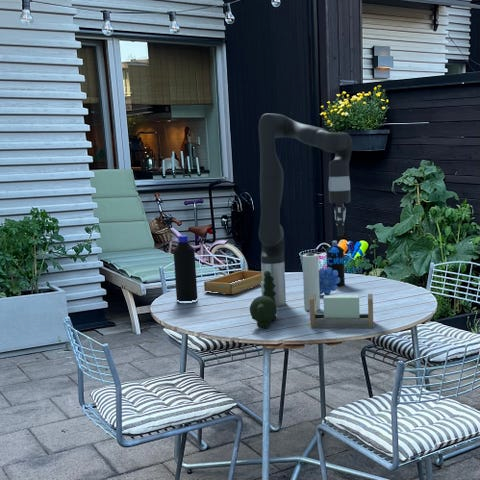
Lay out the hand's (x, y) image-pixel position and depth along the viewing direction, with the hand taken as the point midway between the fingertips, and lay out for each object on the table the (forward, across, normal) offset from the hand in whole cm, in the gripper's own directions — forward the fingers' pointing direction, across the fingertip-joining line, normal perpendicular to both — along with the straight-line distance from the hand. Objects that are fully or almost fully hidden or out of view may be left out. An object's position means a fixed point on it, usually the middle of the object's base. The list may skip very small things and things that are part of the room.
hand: (340, 234), depth 223 cm
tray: (+31, +50, +50) cm, 77 cm away
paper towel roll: (+30, +10, +12) cm, 34 cm away
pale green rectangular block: (+29, -12, 0) cm, 31 cm away
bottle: (+30, +23, +66) cm, 76 cm away
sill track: (+30, -12, 0) cm, 32 cm away
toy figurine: (+30, -10, +27) cm, 42 cm away
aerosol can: (+30, +53, +5) cm, 61 cm away
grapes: (+30, +34, +8) cm, 46 cm away
